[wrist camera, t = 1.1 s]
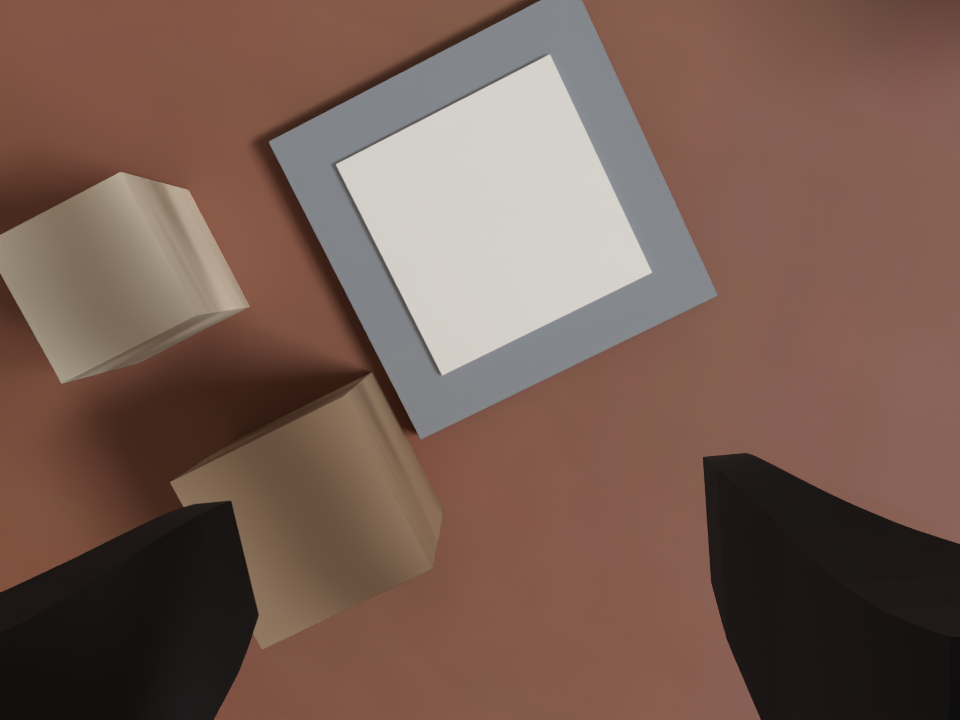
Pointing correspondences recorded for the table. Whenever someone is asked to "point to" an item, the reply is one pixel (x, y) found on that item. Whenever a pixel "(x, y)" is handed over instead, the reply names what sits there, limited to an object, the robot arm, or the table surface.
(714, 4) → the table surface
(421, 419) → the mat
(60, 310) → the maple block
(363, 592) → the walnut cube
